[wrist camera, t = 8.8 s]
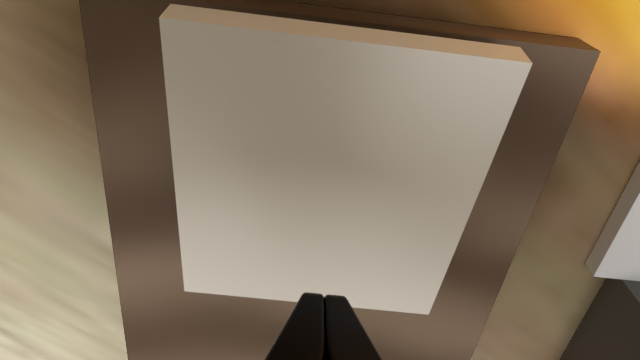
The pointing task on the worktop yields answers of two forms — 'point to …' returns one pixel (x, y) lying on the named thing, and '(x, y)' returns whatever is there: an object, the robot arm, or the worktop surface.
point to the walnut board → (271, 315)
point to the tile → (327, 153)
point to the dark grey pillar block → (614, 287)
